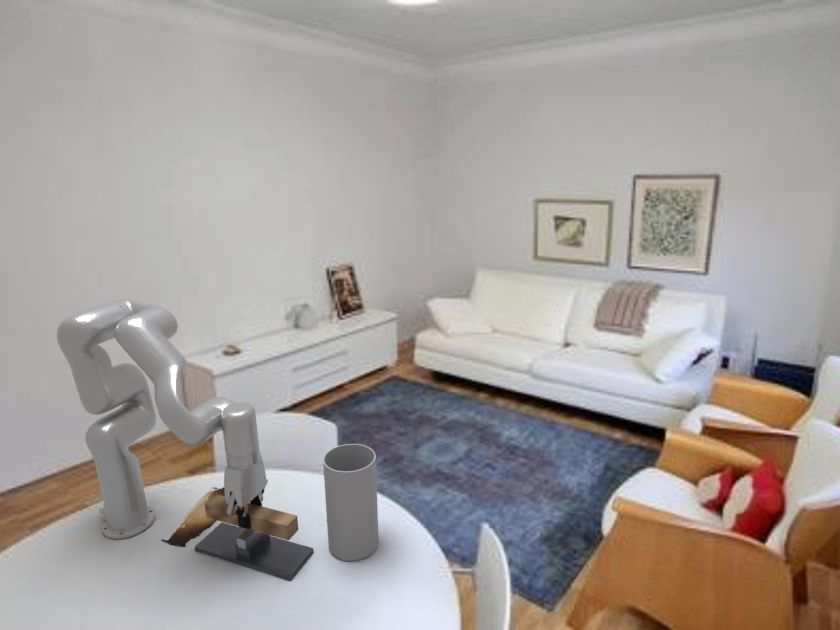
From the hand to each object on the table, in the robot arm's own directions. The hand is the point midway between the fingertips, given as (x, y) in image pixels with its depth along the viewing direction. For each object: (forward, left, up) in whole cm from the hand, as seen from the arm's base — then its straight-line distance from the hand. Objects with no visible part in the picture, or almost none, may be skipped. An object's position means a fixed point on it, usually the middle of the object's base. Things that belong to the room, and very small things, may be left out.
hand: (251, 521), depth 132 cm
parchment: (-22, +7, -10) cm, 25 cm away
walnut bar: (0, 0, -1) cm, 1 cm away
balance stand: (0, 0, -9) cm, 9 cm away
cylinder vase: (+22, +11, -9) cm, 26 cm away
